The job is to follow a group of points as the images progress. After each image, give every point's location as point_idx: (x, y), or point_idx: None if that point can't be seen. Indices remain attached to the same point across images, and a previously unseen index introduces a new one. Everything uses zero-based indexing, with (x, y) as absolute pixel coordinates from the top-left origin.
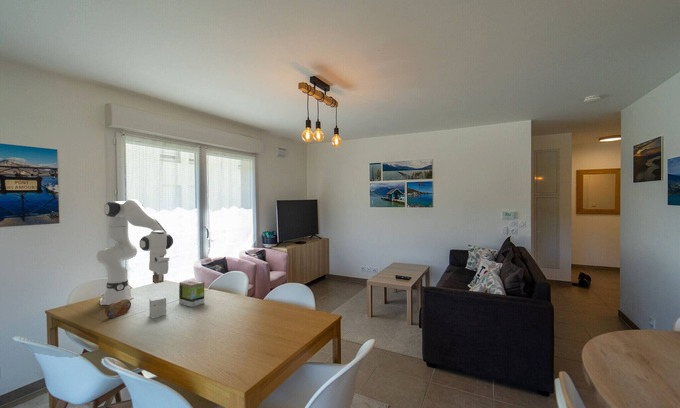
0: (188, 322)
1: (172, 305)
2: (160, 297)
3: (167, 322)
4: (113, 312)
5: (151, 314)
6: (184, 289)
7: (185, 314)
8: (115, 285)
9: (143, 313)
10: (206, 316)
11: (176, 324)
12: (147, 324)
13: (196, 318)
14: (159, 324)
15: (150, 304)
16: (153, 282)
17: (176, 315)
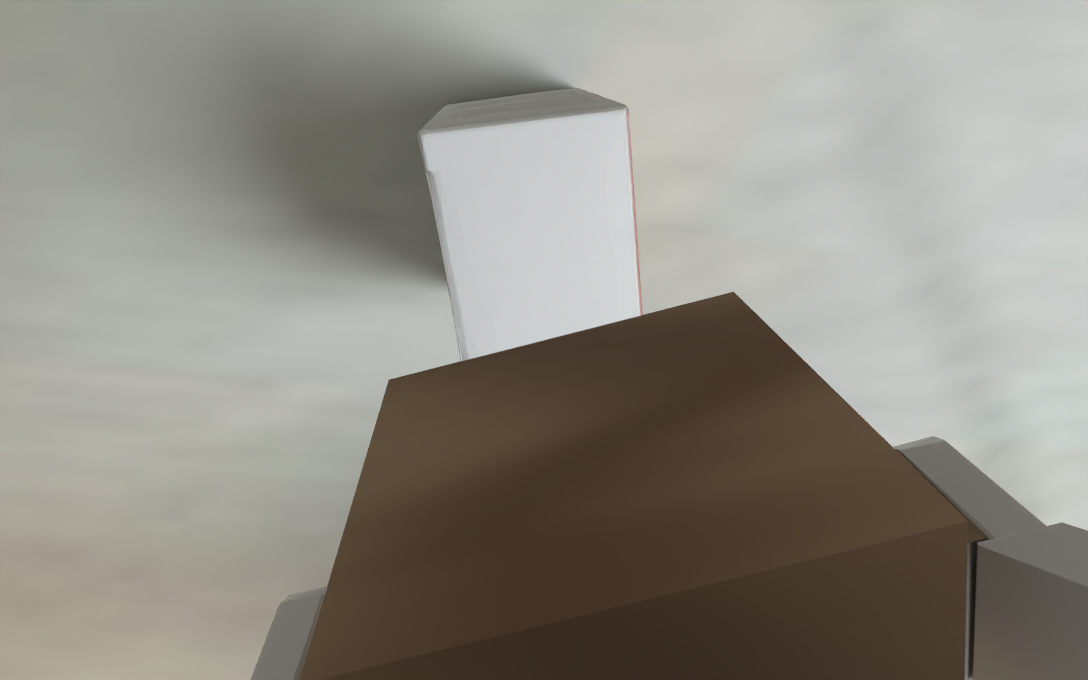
0: (31, 473)
1: None
2: (573, 313)
3: (147, 274)
4: None
5: (444, 107)
6: None
7: (350, 476)
8: None
9: (756, 14)
10: (154, 635)
11: (16, 357)
12: (192, 29)
13: (136, 553)
14: (112, 178)
15: (507, 109)
16: (627, 323)
17: (372, 390)
